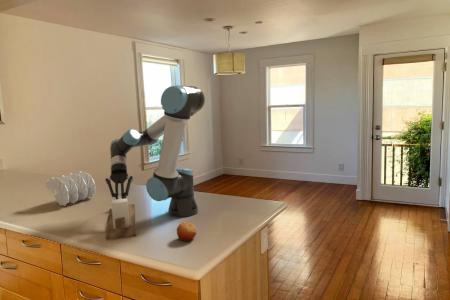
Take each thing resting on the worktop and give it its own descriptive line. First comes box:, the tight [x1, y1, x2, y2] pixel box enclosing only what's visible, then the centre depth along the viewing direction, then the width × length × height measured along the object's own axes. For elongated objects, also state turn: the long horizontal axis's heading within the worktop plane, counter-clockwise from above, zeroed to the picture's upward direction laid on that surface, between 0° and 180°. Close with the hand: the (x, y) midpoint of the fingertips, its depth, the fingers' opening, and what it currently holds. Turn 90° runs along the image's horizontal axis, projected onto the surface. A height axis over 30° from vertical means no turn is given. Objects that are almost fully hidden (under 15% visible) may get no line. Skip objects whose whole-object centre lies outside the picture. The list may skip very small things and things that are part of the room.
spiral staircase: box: [44, 170, 97, 207], centre depth 200 cm, size 18×18×25 cm
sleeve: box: [110, 197, 129, 229], centre depth 151 cm, size 7×6×12 cm
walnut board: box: [105, 193, 137, 241], centre depth 164 cm, size 12×46×8 cm, turn 15°
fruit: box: [176, 221, 197, 242], centre depth 139 cm, size 8×8×8 cm
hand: (120, 208), depth 155 cm, fingers closed
